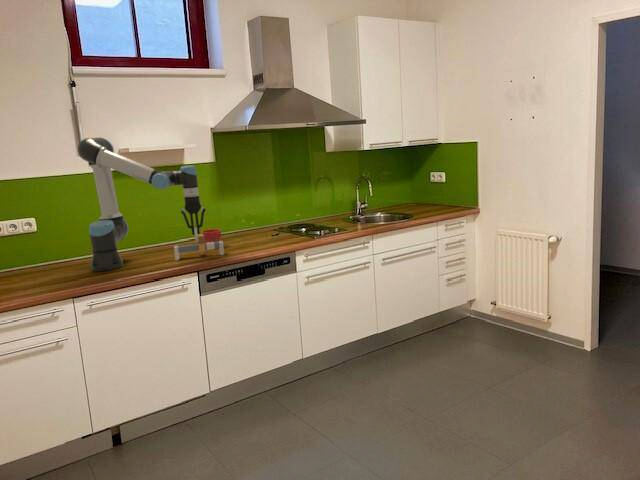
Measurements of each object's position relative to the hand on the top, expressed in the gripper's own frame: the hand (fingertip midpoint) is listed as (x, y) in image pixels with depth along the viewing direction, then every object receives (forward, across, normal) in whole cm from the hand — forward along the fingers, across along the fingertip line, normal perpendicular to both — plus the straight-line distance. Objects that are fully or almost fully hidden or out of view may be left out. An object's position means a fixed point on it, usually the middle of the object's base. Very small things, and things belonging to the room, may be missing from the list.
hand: (196, 240), depth 279 cm
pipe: (+9, +1, 0) cm, 9 cm away
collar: (+7, +2, 0) cm, 7 cm away
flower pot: (+9, +9, +21) cm, 24 cm away
